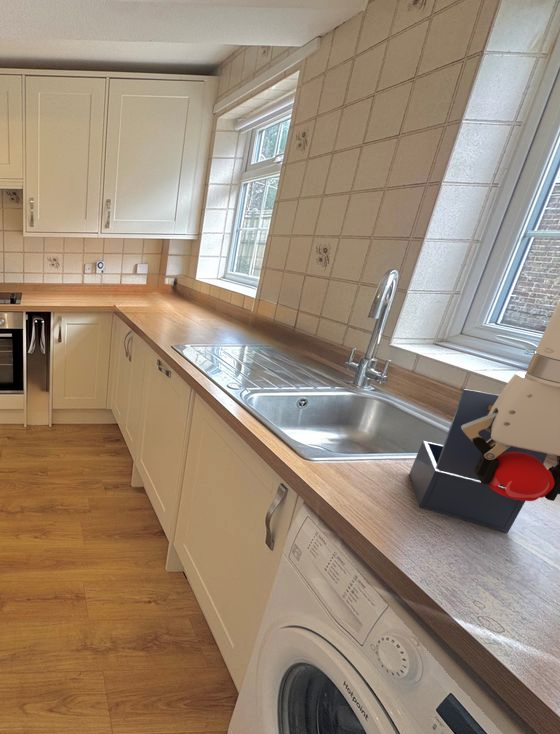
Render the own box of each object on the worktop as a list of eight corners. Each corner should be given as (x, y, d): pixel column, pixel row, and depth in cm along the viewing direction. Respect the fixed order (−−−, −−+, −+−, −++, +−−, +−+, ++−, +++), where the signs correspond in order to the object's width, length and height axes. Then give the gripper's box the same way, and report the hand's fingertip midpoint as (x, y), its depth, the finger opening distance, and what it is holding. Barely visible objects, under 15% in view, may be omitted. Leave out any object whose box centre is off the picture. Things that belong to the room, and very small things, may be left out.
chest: (409, 473, 84) (422, 440, 81) (485, 493, 78) (503, 458, 75) (419, 507, 73) (435, 470, 71) (508, 533, 68) (529, 494, 65)
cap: (551, 514, 56) (572, 477, 53) (490, 498, 59) (508, 463, 57) (530, 486, 62) (548, 451, 60) (476, 473, 65) (491, 440, 63)
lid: (463, 388, 68) (475, 392, 63) (563, 406, 62) (585, 411, 58) (435, 467, 71) (444, 476, 66) (529, 491, 65) (547, 503, 60)
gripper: (659, 377, 52) (589, 495, 59) (474, 354, 61) (431, 458, 67) (699, 396, 46) (617, 524, 53) (488, 367, 55) (440, 480, 62)
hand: (513, 486), depth 60 cm, fingers closed on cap, 5 cm apart
